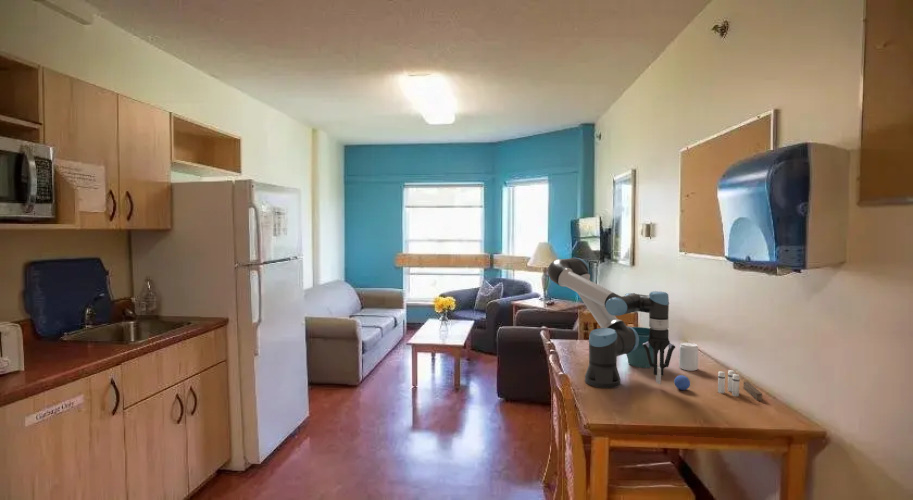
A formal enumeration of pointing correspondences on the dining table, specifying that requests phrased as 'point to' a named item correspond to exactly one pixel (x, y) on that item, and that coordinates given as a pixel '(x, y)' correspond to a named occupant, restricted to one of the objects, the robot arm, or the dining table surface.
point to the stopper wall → (752, 391)
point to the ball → (682, 382)
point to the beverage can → (688, 356)
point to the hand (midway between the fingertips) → (658, 382)
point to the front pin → (721, 382)
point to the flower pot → (641, 350)
